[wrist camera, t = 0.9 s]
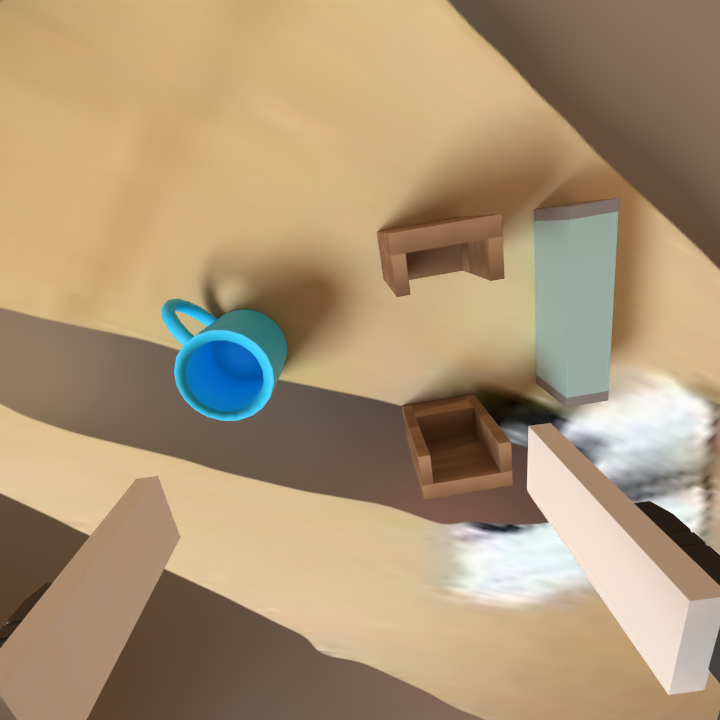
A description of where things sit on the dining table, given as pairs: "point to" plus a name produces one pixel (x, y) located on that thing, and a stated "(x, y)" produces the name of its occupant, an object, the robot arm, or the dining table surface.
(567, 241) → the rail
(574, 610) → the dining table surface
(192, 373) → the mug
